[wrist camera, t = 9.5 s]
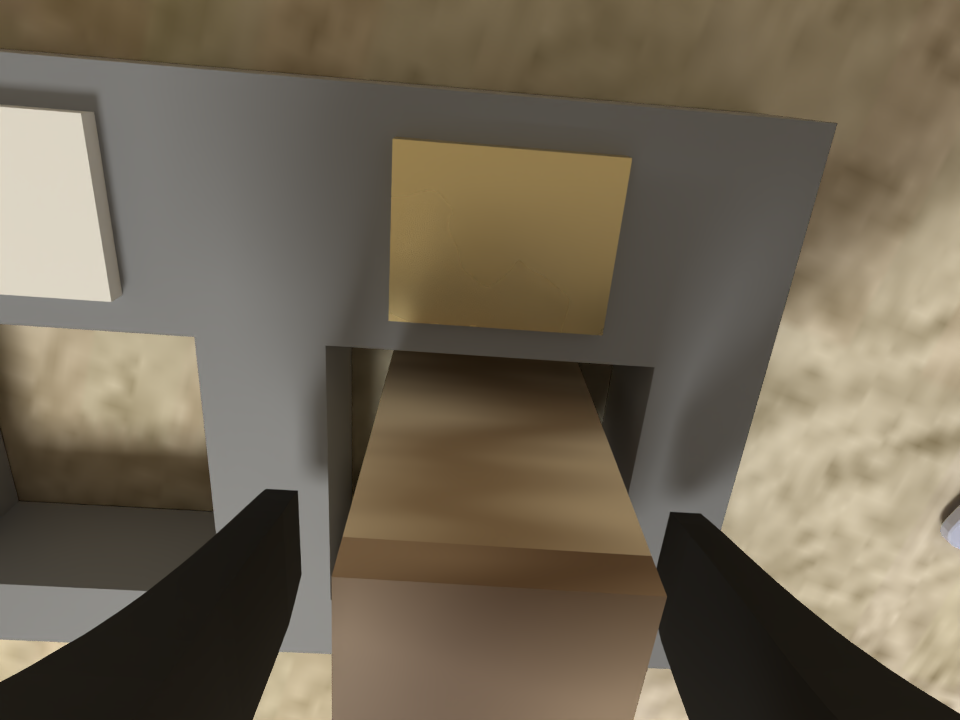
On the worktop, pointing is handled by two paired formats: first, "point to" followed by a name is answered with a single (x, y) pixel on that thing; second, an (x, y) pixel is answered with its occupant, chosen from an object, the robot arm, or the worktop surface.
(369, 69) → the worktop surface
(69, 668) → the robot arm
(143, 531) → the socket board
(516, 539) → the plug
